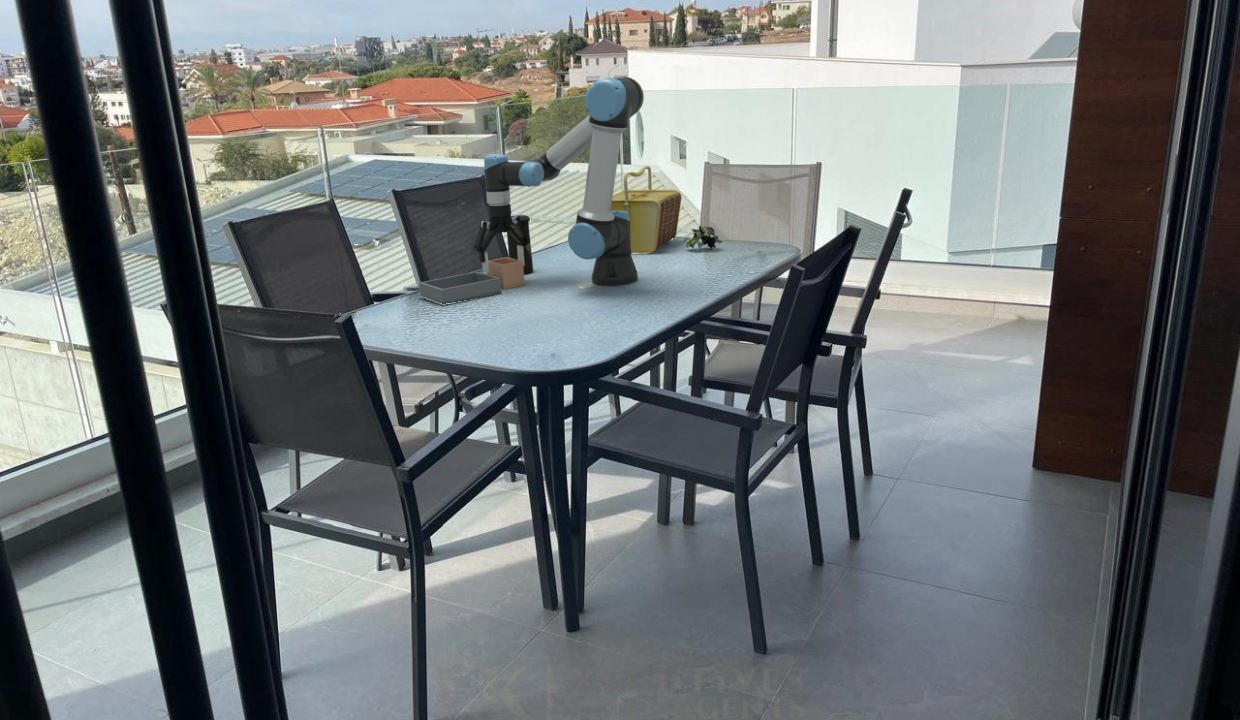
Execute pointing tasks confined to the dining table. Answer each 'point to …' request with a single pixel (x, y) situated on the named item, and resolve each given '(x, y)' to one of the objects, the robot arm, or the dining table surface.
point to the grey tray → (460, 287)
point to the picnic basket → (649, 214)
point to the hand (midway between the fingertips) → (503, 268)
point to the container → (513, 244)
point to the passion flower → (703, 237)
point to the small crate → (507, 271)
